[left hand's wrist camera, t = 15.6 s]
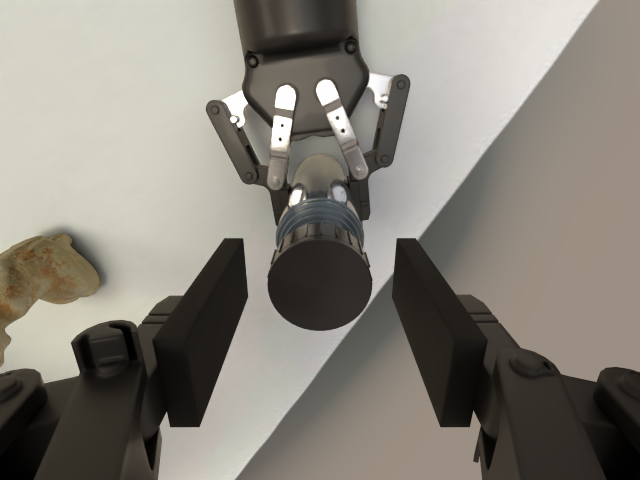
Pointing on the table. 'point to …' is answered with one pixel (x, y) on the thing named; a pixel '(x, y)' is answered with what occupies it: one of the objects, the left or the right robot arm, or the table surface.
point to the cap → (319, 277)
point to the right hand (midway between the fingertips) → (324, 228)
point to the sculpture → (41, 278)
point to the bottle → (319, 199)
